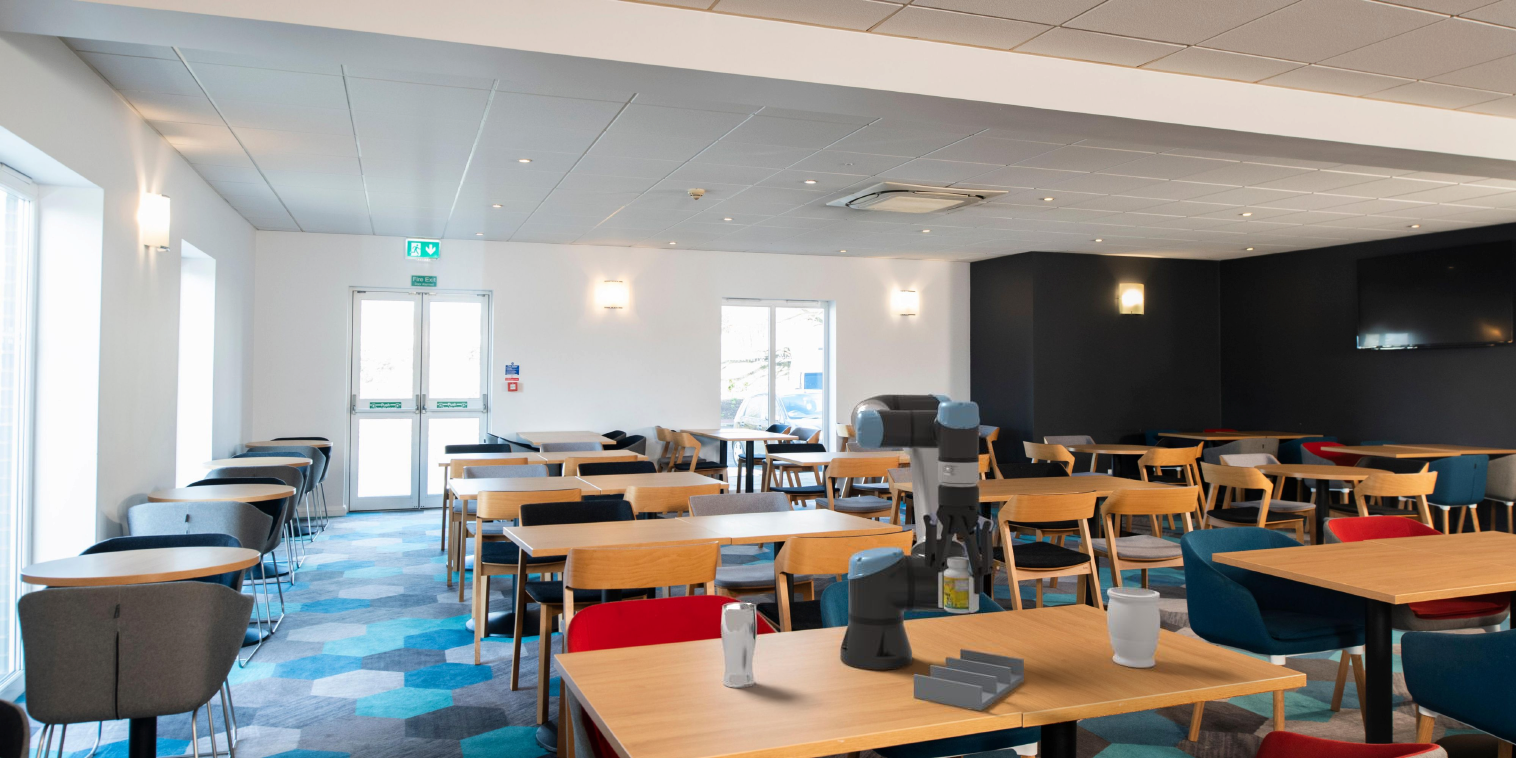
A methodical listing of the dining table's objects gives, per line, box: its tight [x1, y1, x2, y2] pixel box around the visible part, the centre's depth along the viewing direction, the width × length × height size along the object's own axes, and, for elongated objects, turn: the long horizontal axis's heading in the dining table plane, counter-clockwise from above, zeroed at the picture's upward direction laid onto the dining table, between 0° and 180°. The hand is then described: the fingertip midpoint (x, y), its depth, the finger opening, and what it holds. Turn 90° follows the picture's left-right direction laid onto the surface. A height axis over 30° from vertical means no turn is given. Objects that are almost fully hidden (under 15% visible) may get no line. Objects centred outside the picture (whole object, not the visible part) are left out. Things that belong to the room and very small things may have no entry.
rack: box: [913, 648, 1025, 712], centre depth 174 cm, size 13×22×4 cm, turn 145°
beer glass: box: [720, 601, 758, 689], centre depth 178 cm, size 7×7×15 cm
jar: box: [1106, 586, 1161, 669], centre depth 192 cm, size 11×10×15 cm
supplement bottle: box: [944, 557, 973, 614], centre depth 170 cm, size 5×5×10 cm
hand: (958, 608), depth 170 cm, fingers closed on supplement bottle, 5 cm apart
